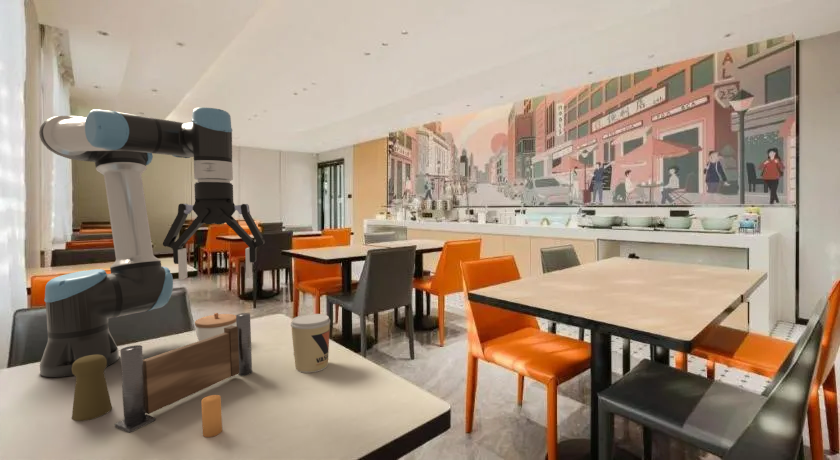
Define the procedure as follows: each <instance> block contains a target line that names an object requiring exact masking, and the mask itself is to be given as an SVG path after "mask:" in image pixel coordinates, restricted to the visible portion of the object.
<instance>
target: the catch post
mask: <svg viewBox="0 0 840 460" xmlns="http://www.w3.org/2000/svg"><path fill="white" fill-rule="evenodd" d="M200 401H201V403H200V404H201V423H202V436H203V437H205V438H213V437H215V436H218V435H221V433H222V432H223V419H222V416H223V414H222V396H221V395H220V394H219V395H218V394H211V395H207V396H205V397H203V398H202V399H201V400H200Z"/></svg>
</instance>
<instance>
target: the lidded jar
mask: <svg viewBox="0 0 840 460" xmlns="http://www.w3.org/2000/svg"><path fill="white" fill-rule="evenodd" d="M236 315H237V314H236ZM236 315H235V314H231V313H219V312H214V313H213V314H211V315H207V316H203V317H199V318H198V319H196V320H195V321H194V325H195V326H194V327H195V335H196V337H197V338H196V339H197V341H201V340H204V339H207V338H210V337H213V336H216V335H219V334H222V333H224V328H225V327H228V326H237V323H236Z"/></svg>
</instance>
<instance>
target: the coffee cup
mask: <svg viewBox="0 0 840 460" xmlns="http://www.w3.org/2000/svg"><path fill="white" fill-rule="evenodd" d="M330 324H331V319H330V317H329V315H326V314H323V313H307V314H301V315H299V316H295V317H294V318H292V320H291V322H290V327H291V338H292V347H293V359H294V366H295V370H296V371H297V372H300V373H305V374H309V373H317V372H321V371H323V370H325V369H326V368H327V367H328V365H329V353H330V352H329V351H330V328H331V327H330Z"/></svg>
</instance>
